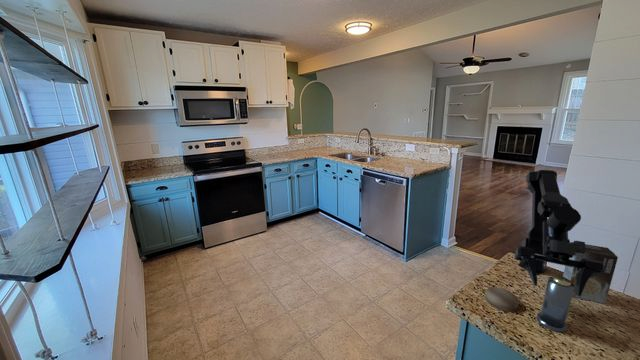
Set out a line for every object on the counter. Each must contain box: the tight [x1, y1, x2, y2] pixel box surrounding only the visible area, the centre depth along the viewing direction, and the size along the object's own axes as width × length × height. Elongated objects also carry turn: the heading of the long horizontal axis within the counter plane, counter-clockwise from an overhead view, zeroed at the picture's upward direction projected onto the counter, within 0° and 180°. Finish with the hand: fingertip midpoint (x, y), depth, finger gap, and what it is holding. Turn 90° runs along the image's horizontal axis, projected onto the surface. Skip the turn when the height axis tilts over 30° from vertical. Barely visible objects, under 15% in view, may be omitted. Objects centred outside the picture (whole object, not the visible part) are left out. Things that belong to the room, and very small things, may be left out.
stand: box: [484, 286, 519, 312], centre depth 82 cm, size 8×8×2 cm
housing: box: [536, 275, 575, 333], centre depth 72 cm, size 6×6×14 cm
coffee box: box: [562, 241, 619, 304], centre depth 83 cm, size 9×6×16 cm
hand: (556, 290), depth 73 cm, fingers open, 9 cm apart
